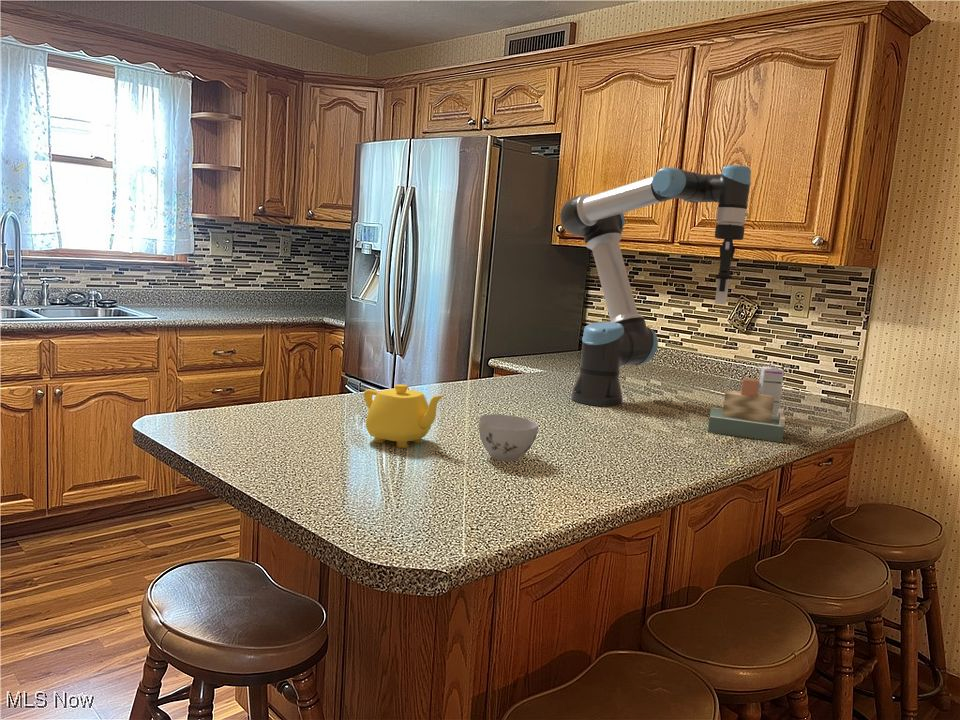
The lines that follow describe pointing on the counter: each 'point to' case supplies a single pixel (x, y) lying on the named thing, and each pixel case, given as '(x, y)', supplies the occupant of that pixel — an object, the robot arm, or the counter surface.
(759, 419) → the tan rectangular block
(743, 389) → the orange cube
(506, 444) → the teacup
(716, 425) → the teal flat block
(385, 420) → the teapot
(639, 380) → the counter surface
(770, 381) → the syrup box
